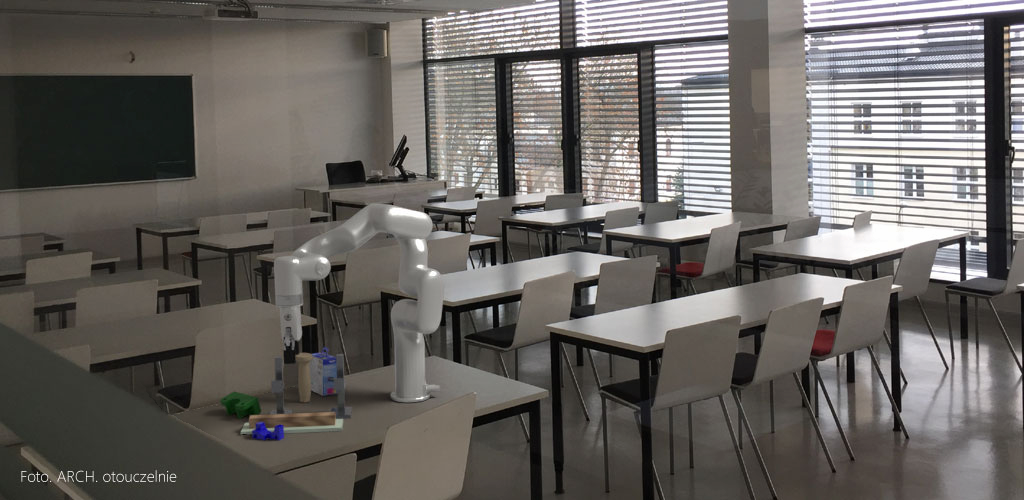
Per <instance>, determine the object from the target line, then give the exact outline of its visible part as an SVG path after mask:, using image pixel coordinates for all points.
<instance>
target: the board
mask: <svg viewBox="0 0 1024 500" xmlns="http://www.w3.org/2000/svg"><path fill="white" fill-rule="evenodd" d="M343 425H344V418H342V419H336V423H335V425H329V426H305V427H284V434H300V433H325V432H329V433H330V432H342V431H343ZM252 430H254V429H249V422H244V425H243V426H242V429H241V430H240V435H241V434H252ZM267 430H269V431H270V432H273V431H274V428H267Z"/></svg>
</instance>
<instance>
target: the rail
mask: <svg viewBox="0 0 1024 500" xmlns="http://www.w3.org/2000/svg"><path fill="white" fill-rule="evenodd" d="M258 422H264V424H265V427H266V428H275V426H277V425H283V426H284V427H305V426H329V425H335V423H336V415H335V412H331V411H328V412H327V411H326V412H304V413H303V412H302V413H299V412H298V413H291V414H273V415H270V414H258V415H249V418H248V423H249V429H256V425H255V424H256V423H258Z"/></svg>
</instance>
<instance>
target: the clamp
mask: <svg viewBox="0 0 1024 500" xmlns="http://www.w3.org/2000/svg"><path fill="white" fill-rule="evenodd" d="M219 401H220V405H221V406H223V407H225V410H226V413H227V416H230V415H233V414H235V413H236V415H237V418H238V419H242V418H245V416H247V415H249V416H250V415H260V413H262V408H261V405H260V402H259V401H260V400H259V398H258V397H257V396H253V395H249V394H245V393H242V392H238V391H235V390H234V391H232V392H231V393H229V394H227V395H226V396H224V397H222V398H220V399H219Z"/></svg>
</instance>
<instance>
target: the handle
mask: <svg viewBox="0 0 1024 500" xmlns="http://www.w3.org/2000/svg"><path fill="white" fill-rule="evenodd" d="M312 354H313V353H310V352H309V353H308V352H299V355H296V363H297V362H298V374H297V375H298V376H297V377H298V380H297V382H298V384H297V386H298V387H297V388H298V394H299V397H300V398H299V401H300V403H309V402H310V401H311V394H312V391H311V378H310V367H309V362H310V361H311V360H312V359H313V357H312Z"/></svg>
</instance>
